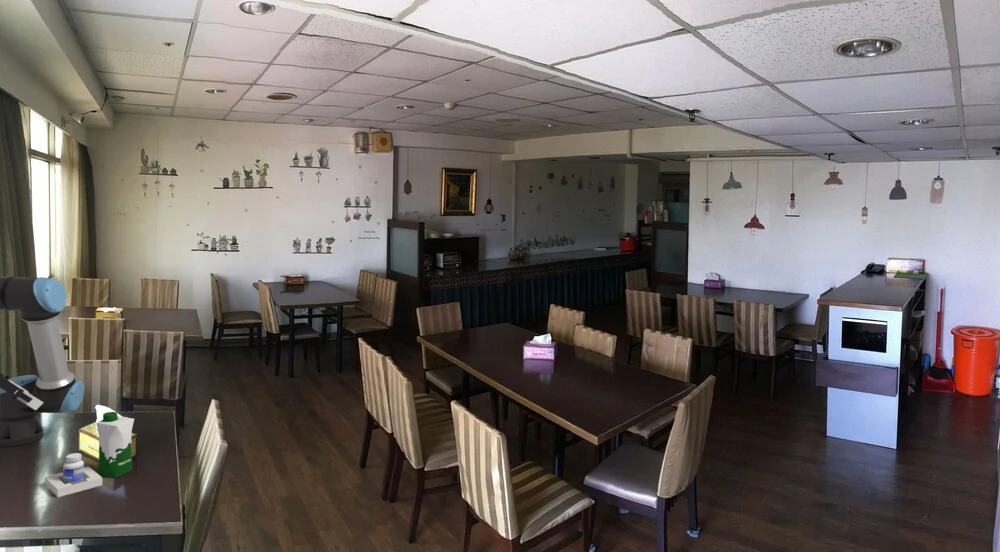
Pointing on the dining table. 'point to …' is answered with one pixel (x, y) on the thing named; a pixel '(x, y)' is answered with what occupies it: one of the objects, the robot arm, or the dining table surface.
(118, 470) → the milk carton
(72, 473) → the pill bottle
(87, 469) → the plate
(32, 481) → the dining table surface
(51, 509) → the dining table surface
